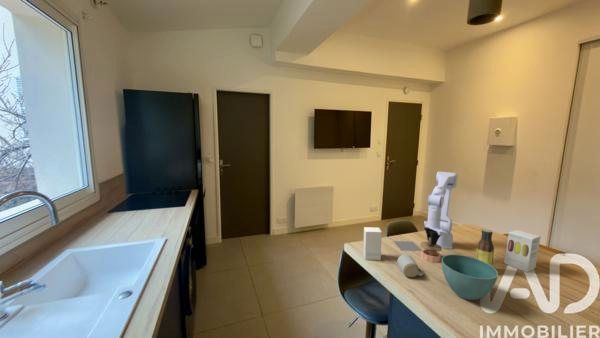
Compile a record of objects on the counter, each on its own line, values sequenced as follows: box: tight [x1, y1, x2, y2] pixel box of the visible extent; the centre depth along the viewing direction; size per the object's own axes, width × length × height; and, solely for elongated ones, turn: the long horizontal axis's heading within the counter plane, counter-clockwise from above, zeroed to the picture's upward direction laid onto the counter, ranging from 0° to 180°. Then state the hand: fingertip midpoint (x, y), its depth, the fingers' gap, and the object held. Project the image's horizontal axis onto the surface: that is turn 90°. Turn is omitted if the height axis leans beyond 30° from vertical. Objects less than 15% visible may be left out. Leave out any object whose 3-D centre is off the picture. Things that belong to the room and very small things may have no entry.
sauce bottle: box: [475, 228, 495, 267], centre depth 111 cm, size 6×6×20 cm
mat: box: [392, 240, 423, 252], centre depth 137 cm, size 12×12×1 cm
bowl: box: [420, 248, 442, 264], centre depth 123 cm, size 9×9×3 cm
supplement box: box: [503, 229, 541, 273], centre depth 116 cm, size 10×9×17 cm
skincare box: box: [362, 226, 383, 261], centre depth 122 cm, size 8×7×16 cm
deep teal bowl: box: [441, 254, 499, 301], centre depth 94 cm, size 18×18×12 cm
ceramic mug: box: [396, 253, 425, 278], centre depth 108 cm, size 11×8×8 cm
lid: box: [420, 237, 443, 252], centre depth 122 cm, size 10×10×5 cm
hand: (431, 242), depth 122 cm, fingers closed on lid, 3 cm apart
